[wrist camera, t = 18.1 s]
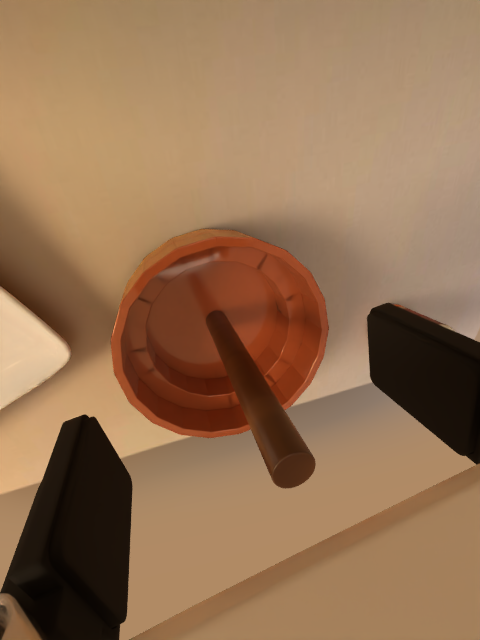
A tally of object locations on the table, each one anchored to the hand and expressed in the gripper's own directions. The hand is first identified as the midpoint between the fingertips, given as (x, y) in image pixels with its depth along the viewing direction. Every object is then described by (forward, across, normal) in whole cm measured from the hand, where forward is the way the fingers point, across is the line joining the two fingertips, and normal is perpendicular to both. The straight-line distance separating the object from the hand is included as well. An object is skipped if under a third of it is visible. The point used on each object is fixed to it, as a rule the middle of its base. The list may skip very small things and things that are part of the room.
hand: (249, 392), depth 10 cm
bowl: (+16, -1, +4) cm, 17 cm away
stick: (+16, -1, +4) cm, 16 cm away
